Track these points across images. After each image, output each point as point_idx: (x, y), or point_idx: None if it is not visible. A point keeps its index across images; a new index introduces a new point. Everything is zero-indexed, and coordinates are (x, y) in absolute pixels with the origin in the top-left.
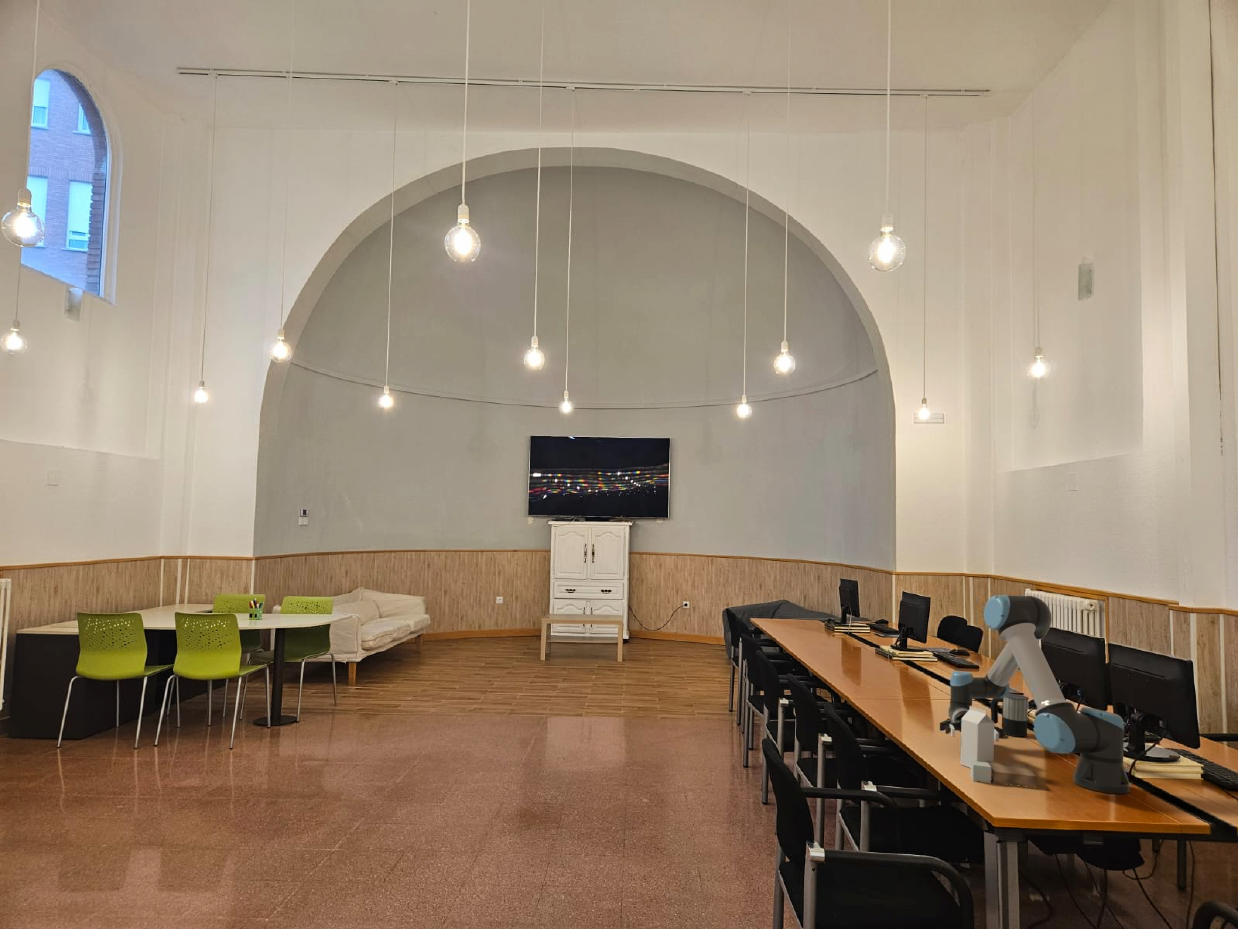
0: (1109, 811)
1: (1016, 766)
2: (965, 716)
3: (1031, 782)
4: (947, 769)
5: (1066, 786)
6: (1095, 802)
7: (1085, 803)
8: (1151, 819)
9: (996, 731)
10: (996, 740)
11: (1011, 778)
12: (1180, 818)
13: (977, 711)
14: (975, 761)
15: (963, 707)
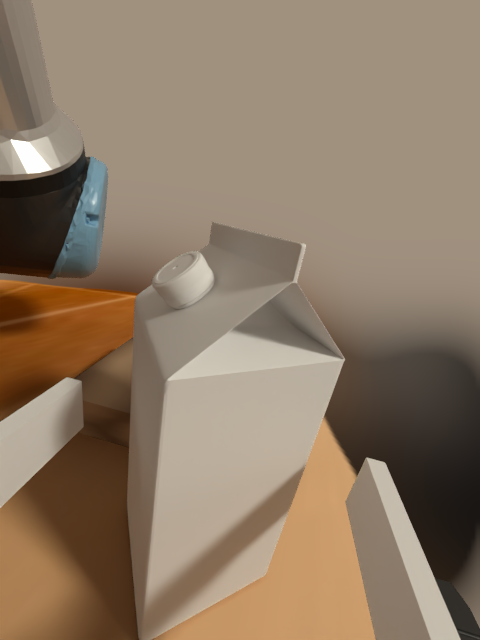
0: (98, 305)
1: (116, 383)
2: (320, 332)
3: None
4: (329, 483)
5: (16, 367)
6: (76, 319)
7: (104, 319)
8: (64, 291)
9: (8, 420)
10: (81, 420)
11: None
12: (4, 286)
13: (244, 256)
14: None
15: None
